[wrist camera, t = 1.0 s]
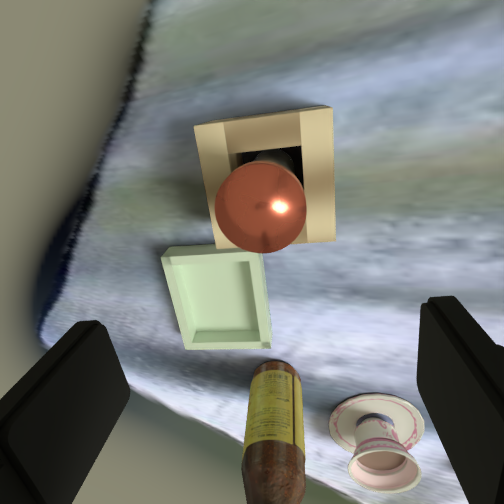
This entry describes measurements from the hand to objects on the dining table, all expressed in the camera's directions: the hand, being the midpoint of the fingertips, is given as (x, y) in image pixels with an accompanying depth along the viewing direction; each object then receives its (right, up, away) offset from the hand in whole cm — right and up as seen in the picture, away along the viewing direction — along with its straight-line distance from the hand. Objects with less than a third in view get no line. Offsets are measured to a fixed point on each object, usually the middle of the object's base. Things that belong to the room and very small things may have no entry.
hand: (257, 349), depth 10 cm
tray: (-3, -2, +28) cm, 28 cm away
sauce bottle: (+3, -13, +32) cm, 35 cm away
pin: (+2, +11, +21) cm, 24 cm away
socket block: (+2, +11, +21) cm, 24 cm away
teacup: (+16, -20, +34) cm, 42 cm away
